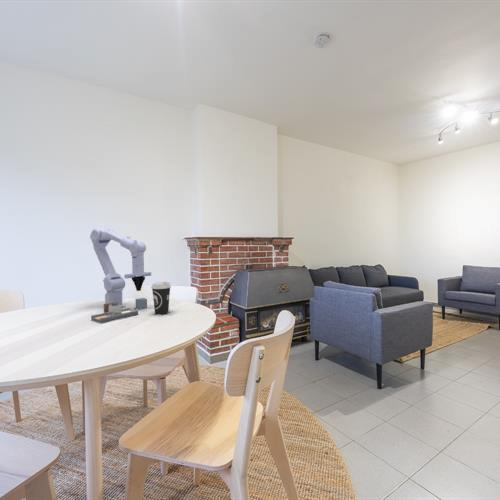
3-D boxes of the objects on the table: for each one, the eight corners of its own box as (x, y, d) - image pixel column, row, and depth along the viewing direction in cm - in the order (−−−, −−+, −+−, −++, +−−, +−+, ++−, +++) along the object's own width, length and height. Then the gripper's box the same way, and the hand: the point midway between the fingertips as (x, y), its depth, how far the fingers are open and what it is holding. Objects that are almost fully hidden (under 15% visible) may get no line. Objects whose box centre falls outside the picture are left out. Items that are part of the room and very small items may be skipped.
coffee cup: (168, 315, 138) (167, 284, 138) (148, 315, 138) (148, 284, 138) (173, 310, 148) (173, 281, 147) (155, 310, 148) (155, 281, 147)
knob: (108, 314, 135) (108, 303, 134) (117, 312, 138) (116, 302, 138) (113, 315, 132) (112, 305, 132) (121, 314, 135) (121, 303, 135)
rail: (91, 320, 131) (91, 315, 131) (128, 312, 145) (128, 308, 145) (100, 323, 125) (100, 318, 125) (138, 314, 140) (137, 310, 140)
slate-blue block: (135, 308, 154) (135, 299, 154) (143, 306, 157) (143, 297, 157) (138, 309, 151) (138, 300, 150) (147, 308, 154) (147, 299, 153)
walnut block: (104, 313, 142) (103, 304, 142) (111, 311, 147) (111, 302, 146) (110, 314, 141) (110, 304, 141) (118, 312, 145) (117, 302, 145)
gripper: (129, 266, 143) (129, 293, 143) (154, 264, 154) (154, 289, 155) (121, 265, 147) (122, 292, 147) (146, 263, 158) (147, 288, 159)
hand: (138, 290), depth 151 cm, fingers closed
